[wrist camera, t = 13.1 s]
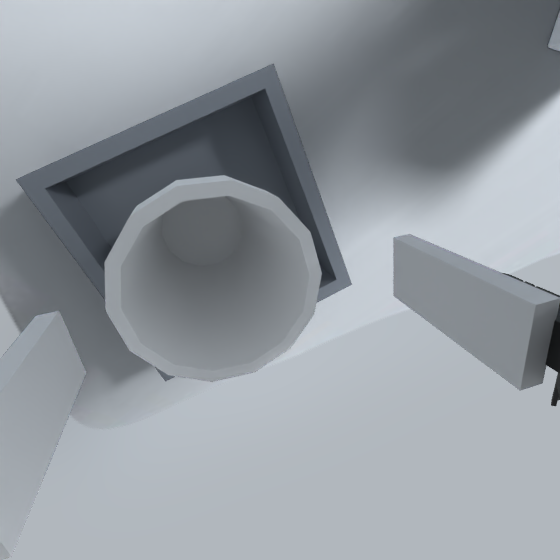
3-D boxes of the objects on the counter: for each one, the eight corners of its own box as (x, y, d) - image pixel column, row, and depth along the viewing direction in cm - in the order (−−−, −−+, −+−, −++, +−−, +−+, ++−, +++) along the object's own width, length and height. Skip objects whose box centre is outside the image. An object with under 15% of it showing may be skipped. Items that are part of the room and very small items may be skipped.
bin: (45, 172, 24) (15, 179, 19) (256, 77, 25) (273, 63, 21) (167, 346, 31) (165, 381, 26) (327, 264, 32) (351, 284, 28)
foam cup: (108, 227, 25) (50, 300, 14) (196, 133, 25) (213, 126, 13) (207, 304, 30) (226, 411, 18) (284, 225, 29) (357, 282, 17)
